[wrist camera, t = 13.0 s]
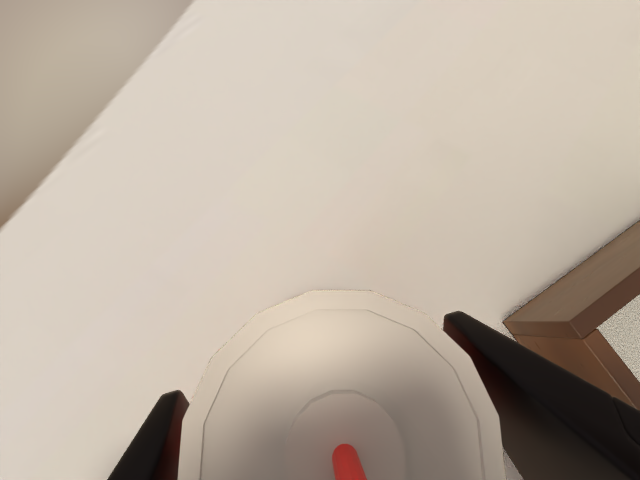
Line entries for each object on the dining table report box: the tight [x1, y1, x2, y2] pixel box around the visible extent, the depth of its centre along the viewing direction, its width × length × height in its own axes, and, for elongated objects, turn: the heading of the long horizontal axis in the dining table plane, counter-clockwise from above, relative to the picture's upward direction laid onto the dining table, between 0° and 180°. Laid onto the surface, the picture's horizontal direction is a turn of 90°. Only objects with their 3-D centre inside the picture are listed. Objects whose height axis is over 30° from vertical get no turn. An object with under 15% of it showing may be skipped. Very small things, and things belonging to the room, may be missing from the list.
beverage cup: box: [178, 290, 506, 480], centre depth 8 cm, size 6×6×14 cm
